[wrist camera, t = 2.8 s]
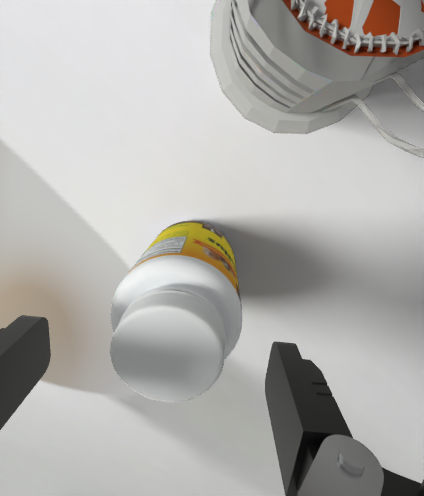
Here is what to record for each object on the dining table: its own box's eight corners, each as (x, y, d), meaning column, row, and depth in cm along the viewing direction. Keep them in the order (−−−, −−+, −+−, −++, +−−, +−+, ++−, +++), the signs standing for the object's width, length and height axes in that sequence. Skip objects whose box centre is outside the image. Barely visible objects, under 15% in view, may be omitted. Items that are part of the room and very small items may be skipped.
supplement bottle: (244, 283, 20) (267, 402, 11) (168, 305, 21) (123, 436, 11) (219, 206, 19) (219, 262, 9) (138, 232, 19) (56, 311, 10)
